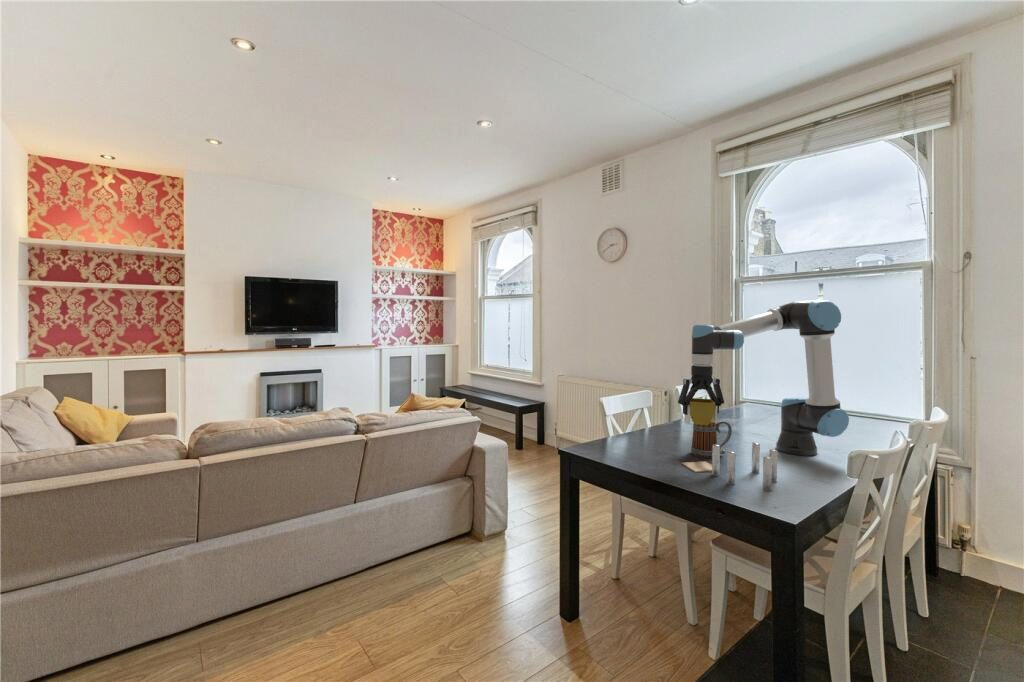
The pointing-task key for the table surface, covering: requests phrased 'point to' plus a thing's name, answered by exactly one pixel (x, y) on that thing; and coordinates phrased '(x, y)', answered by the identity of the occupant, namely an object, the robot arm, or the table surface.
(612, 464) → the table surface
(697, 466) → the cork mat
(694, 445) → the mug
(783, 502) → the table surface
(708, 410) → the flower pot
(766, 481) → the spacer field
